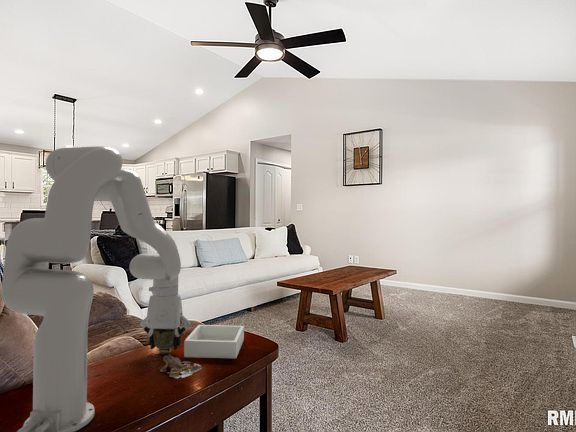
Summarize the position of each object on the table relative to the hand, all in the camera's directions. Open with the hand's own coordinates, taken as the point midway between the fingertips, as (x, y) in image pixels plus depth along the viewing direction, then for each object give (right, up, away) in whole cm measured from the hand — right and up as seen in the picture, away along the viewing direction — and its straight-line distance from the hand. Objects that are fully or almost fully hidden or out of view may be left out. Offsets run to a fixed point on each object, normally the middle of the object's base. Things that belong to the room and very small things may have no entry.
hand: (165, 347), depth 113 cm
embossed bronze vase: (0, -2, 0) cm, 2 cm away
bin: (+15, -2, +5) cm, 16 cm away
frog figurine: (+8, -3, -12) cm, 14 cm away
